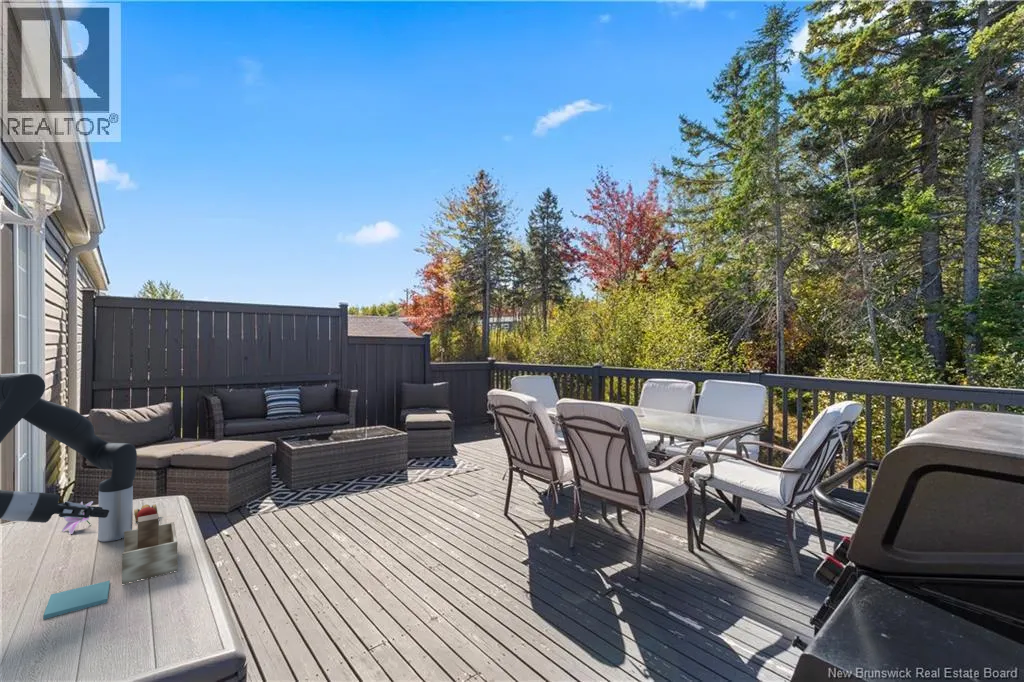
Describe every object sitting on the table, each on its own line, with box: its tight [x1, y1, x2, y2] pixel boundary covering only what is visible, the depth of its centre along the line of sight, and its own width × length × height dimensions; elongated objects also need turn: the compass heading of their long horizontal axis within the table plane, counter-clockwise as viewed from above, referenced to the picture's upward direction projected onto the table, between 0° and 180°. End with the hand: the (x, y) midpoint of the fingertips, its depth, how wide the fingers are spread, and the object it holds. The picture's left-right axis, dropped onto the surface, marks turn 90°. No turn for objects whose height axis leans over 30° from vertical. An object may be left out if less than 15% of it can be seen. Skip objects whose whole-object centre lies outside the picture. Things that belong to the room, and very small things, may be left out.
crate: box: [121, 521, 178, 585], centre depth 142 cm, size 13×20×9 cm, turn 39°
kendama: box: [133, 504, 159, 523], centre depth 180 cm, size 8×6×18 cm
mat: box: [43, 580, 111, 620], centre depth 123 cm, size 12×12×1 cm
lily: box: [61, 500, 94, 535], centre depth 169 cm, size 12×12×10 cm
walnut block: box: [137, 513, 160, 549], centre depth 142 cm, size 5×5×12 cm
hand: (104, 512), depth 135 cm, fingers open, 8 cm apart
